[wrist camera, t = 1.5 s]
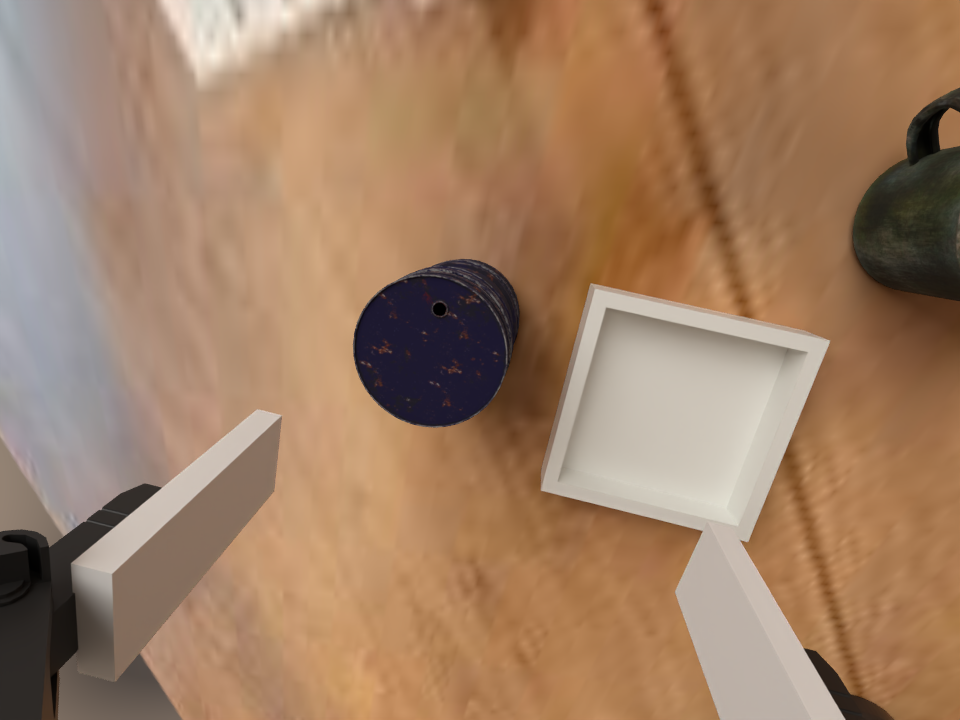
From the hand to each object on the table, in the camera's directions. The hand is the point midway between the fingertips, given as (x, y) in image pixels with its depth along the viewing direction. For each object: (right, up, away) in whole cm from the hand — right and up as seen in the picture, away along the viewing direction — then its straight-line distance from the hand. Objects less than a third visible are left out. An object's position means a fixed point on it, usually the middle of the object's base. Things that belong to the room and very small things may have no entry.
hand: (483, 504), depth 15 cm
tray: (+16, 0, +30) cm, 34 cm away
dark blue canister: (-1, +9, +30) cm, 31 cm away
